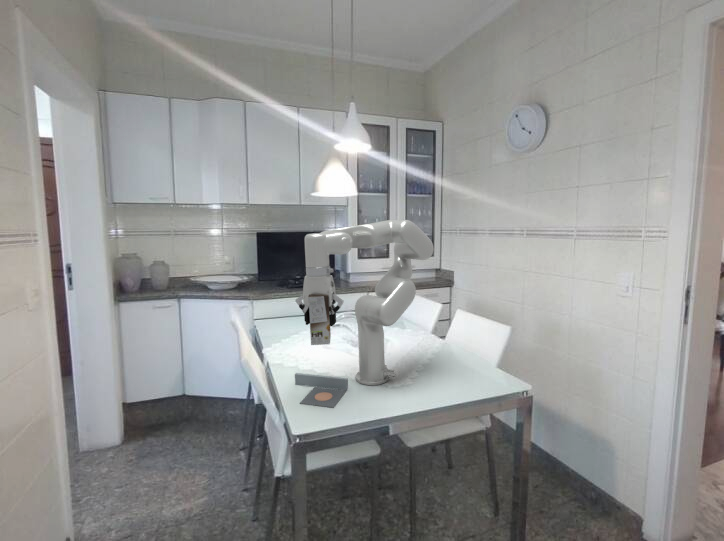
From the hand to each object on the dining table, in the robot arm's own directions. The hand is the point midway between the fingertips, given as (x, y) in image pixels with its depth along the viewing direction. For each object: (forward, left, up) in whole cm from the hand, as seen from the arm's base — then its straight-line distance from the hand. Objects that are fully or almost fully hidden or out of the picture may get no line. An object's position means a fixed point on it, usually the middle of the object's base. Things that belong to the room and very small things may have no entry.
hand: (320, 324), depth 127 cm
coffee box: (0, 0, -6) cm, 6 cm away
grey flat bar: (+4, -7, -26) cm, 27 cm away
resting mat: (0, 0, -26) cm, 26 cm away
